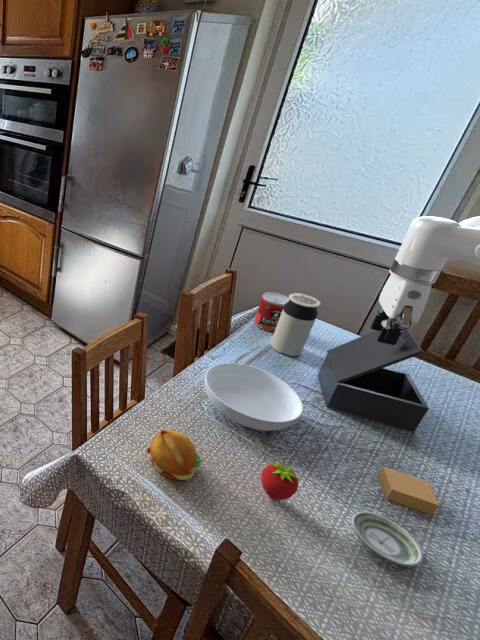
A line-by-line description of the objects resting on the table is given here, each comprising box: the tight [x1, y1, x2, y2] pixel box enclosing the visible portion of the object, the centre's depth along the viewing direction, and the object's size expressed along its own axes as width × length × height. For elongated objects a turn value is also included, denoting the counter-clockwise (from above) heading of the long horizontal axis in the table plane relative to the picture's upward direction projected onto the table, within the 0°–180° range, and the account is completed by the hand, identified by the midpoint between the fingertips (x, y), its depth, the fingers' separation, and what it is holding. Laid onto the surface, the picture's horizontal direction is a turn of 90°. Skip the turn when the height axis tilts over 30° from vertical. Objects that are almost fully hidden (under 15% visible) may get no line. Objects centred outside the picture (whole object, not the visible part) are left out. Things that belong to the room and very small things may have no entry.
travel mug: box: [269, 292, 321, 357], centre depth 125 cm, size 8×8×18 cm
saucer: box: [350, 510, 424, 568], centre depth 76 cm, size 10×10×2 cm
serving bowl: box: [204, 362, 304, 432], centre depth 105 cm, size 21×21×7 cm
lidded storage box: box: [317, 353, 430, 433], centre depth 107 cm, size 17×14×8 cm
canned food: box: [254, 291, 289, 332], centre depth 137 cm, size 8×8×11 cm
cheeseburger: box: [146, 429, 203, 482], centre depth 90 cm, size 10×11×10 cm
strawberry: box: [260, 459, 299, 501], centre depth 83 cm, size 6×8×10 cm
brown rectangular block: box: [377, 466, 440, 516], centre depth 85 cm, size 7×6×3 cm
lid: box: [326, 319, 425, 384], centre depth 104 cm, size 18×14×5 cm
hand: (382, 335), depth 101 cm, fingers closed on lid, 5 cm apart
